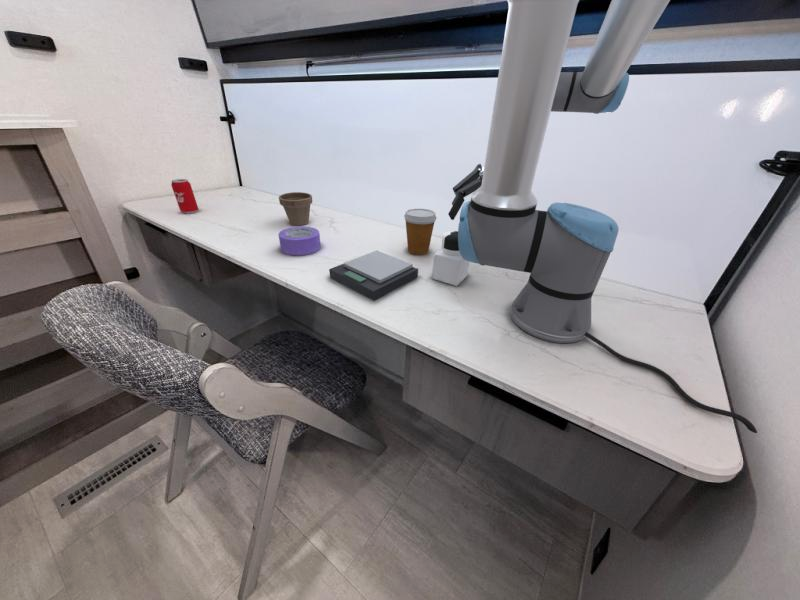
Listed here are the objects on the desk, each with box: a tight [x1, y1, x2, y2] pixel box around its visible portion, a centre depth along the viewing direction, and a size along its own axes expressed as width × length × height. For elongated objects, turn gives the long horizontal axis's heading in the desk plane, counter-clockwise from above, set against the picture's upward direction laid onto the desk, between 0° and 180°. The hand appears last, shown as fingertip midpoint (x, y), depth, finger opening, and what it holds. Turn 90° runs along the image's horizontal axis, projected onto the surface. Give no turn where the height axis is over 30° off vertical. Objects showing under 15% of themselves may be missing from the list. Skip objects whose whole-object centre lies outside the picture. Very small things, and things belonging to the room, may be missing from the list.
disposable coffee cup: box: [403, 208, 438, 256], centre depth 91 cm, size 10×10×12 cm
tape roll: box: [277, 225, 322, 256], centre depth 93 cm, size 12×12×5 cm
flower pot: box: [278, 191, 313, 227], centre depth 111 cm, size 12×11×10 cm
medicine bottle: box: [431, 230, 470, 287], centre depth 77 cm, size 7×7×12 cm
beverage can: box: [170, 178, 199, 214], centre depth 119 cm, size 6×6×12 cm
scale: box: [328, 250, 419, 302], centre depth 78 cm, size 16×16×4 cm
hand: (472, 223), depth 79 cm, fingers open, 13 cm apart
